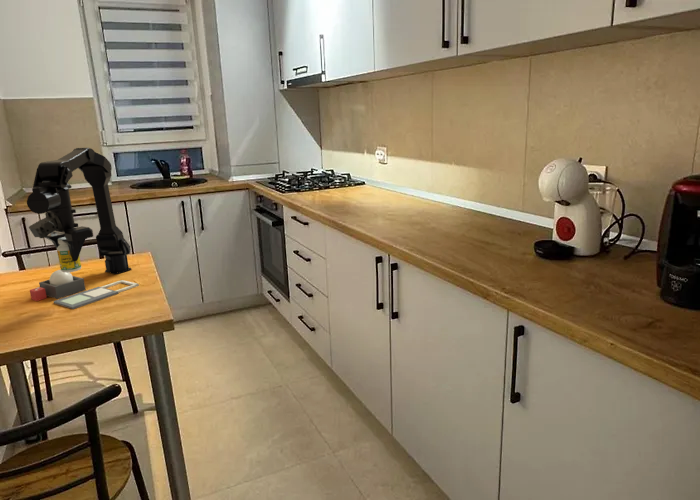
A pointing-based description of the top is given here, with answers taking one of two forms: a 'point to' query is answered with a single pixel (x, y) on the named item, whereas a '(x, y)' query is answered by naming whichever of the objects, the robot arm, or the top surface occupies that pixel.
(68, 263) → the supplement bottle
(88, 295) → the game board
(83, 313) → the top surface
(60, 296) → the dome housing
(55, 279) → the dome
